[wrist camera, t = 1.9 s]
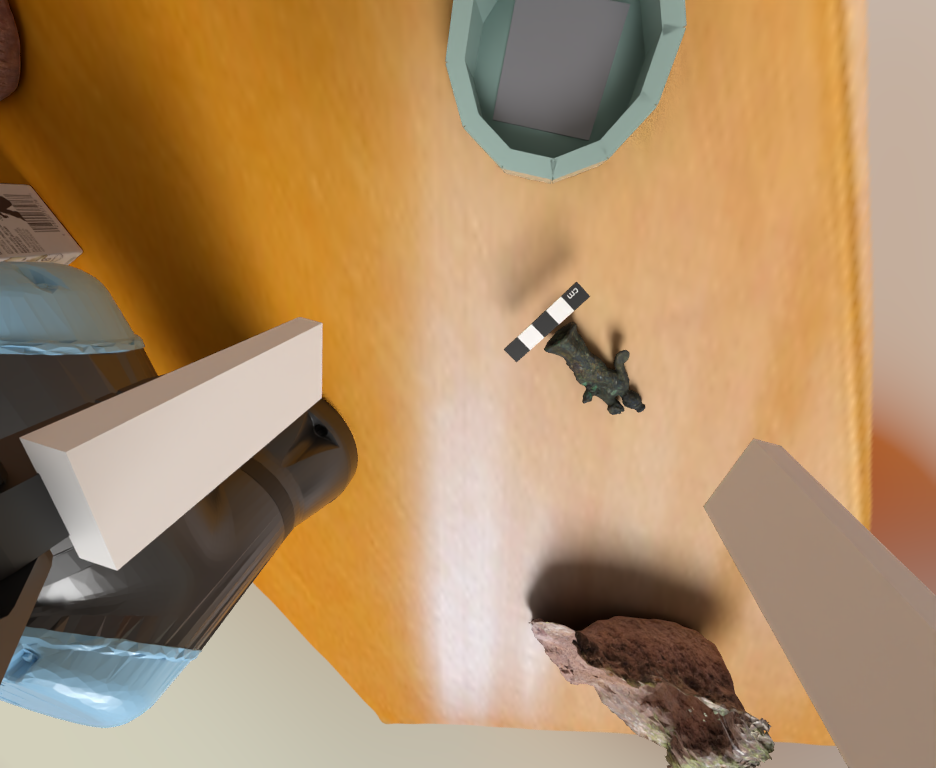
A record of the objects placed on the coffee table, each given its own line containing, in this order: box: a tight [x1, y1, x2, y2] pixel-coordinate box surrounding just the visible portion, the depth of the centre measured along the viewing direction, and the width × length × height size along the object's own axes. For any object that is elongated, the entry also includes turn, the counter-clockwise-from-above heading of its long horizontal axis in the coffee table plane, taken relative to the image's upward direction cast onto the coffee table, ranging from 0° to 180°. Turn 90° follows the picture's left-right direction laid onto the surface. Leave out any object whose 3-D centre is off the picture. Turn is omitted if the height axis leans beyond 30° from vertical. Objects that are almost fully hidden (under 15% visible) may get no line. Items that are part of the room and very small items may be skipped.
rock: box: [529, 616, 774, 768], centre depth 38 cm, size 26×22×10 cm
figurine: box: [504, 282, 645, 415], centre depth 26 cm, size 6×4×12 cm
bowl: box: [446, 0, 686, 184], centre depth 19 cm, size 11×11×4 cm
